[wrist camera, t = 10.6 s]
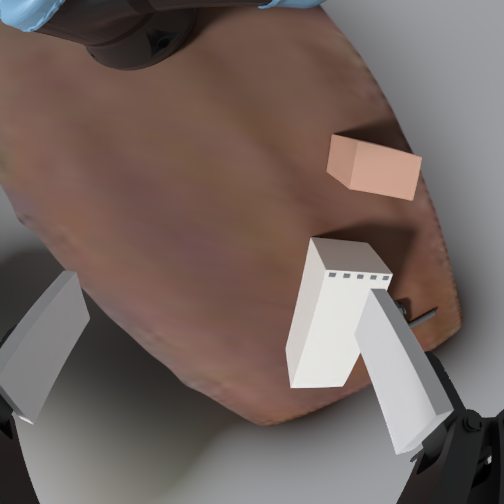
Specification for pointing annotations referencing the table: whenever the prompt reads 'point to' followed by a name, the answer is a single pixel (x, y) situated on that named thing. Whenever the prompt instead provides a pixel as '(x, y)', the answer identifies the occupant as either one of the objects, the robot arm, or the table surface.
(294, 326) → the block
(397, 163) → the peach rectangular block
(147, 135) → the table surface
